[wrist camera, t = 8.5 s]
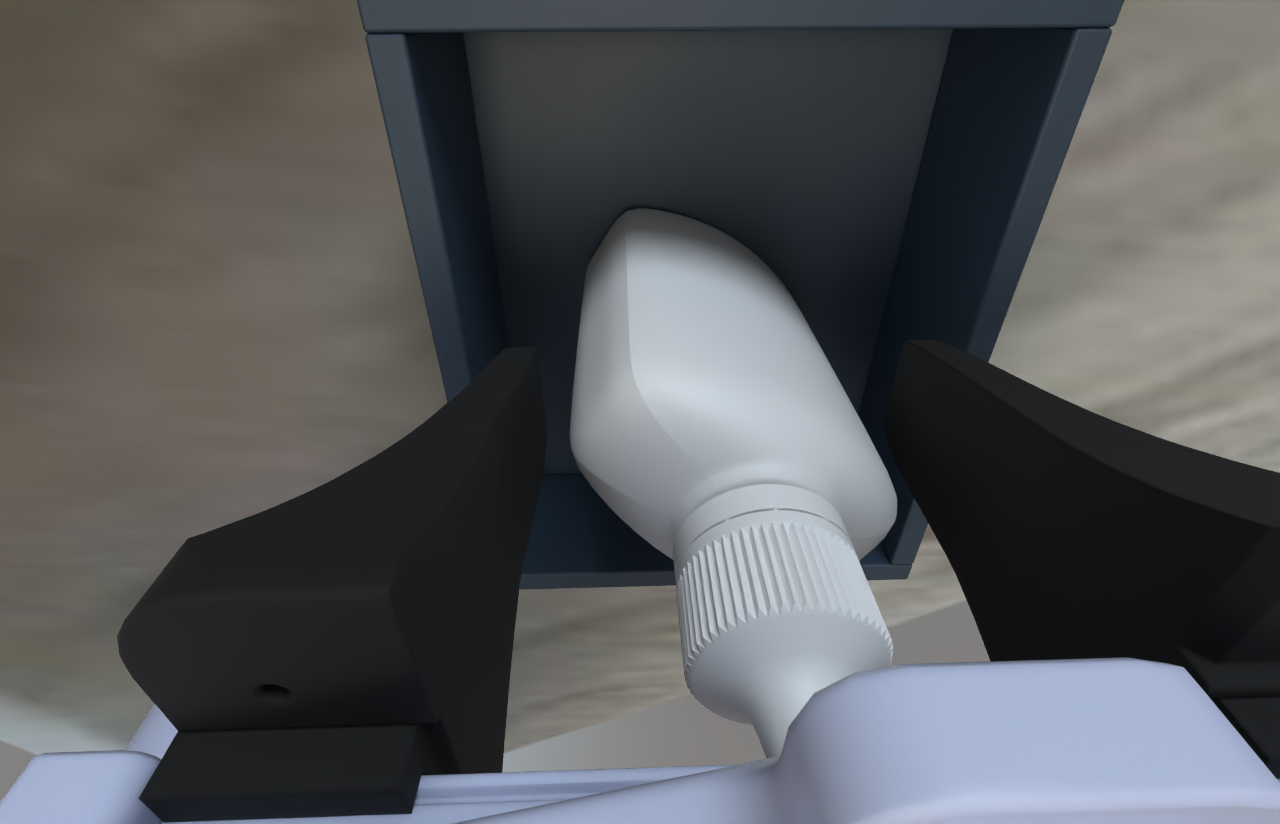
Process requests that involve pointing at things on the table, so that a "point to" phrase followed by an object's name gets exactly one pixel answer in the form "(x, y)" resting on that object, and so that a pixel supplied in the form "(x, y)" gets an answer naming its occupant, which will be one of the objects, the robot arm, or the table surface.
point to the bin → (725, 186)
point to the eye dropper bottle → (731, 465)
